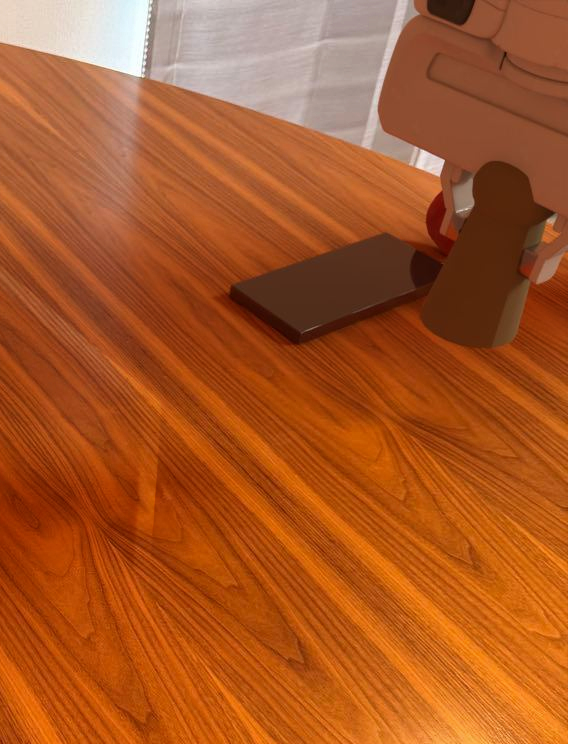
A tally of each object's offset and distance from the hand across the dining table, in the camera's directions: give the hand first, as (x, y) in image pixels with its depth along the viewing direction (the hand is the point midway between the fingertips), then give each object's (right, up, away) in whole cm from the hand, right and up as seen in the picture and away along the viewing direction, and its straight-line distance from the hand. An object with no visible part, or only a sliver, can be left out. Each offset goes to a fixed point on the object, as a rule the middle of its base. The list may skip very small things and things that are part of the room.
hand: (492, 256), depth 60 cm
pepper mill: (0, -3, +3) cm, 5 cm away
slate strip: (+1, +6, +30) cm, 30 cm away
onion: (+12, +11, +36) cm, 39 cm away
